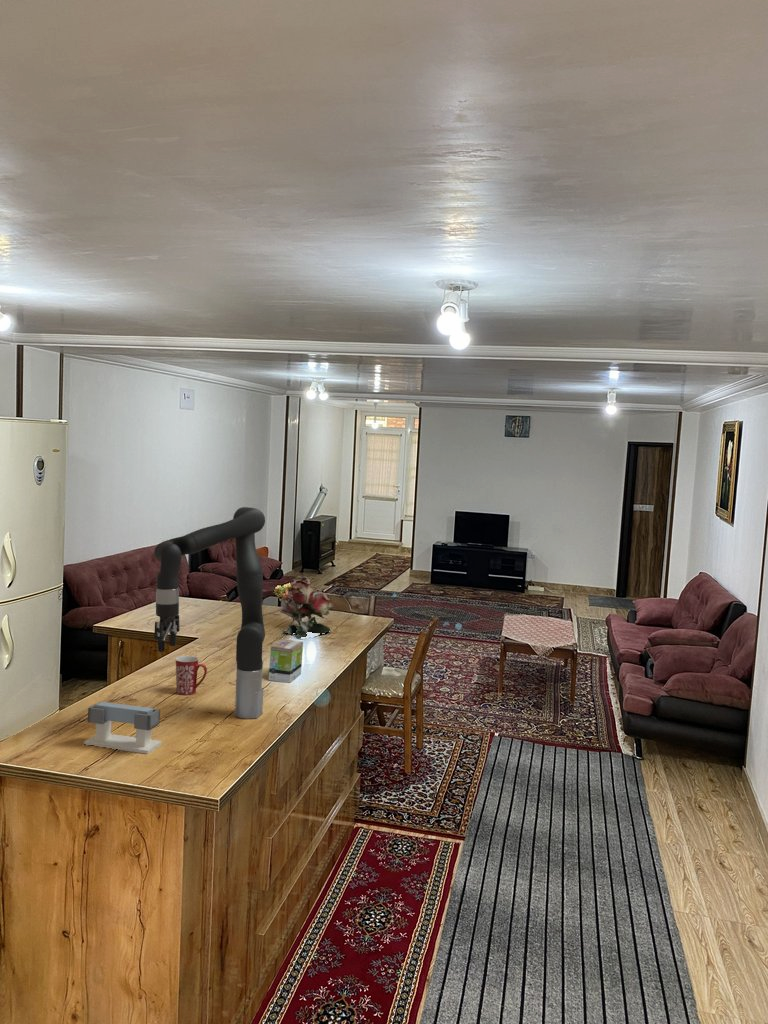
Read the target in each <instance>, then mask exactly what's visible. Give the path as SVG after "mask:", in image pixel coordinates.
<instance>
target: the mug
mask: <svg viewBox="0 0 768 1024" xmlns="http://www.w3.org/2000/svg"><path fill="white" fill-rule="evenodd" d="M174 661H175V676H176V677H175V680H176V682H175V683H176V684H175V685H176V694H177V695H182V696H190V695H194V694H196V692H197V688H198V687H199V686H200V685H201V684H202V683H203V681H204V680H205V678H206V676H207V672H208V667H207V665H206V664H204V663H199V657H197V656H195V655H182V656H181V655H180V656H177V657H176V658H175V659H174ZM201 667H202V668H203V671H204V672H203V673H204V674H203V676H202V678H201V679H200V680H199V682H198V683H197V680H198V670H199V668H201Z"/></svg>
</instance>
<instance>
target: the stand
mask: <svg viewBox="0 0 768 1024" xmlns="http://www.w3.org/2000/svg"><path fill="white" fill-rule="evenodd" d="M100 702H101V701H99V702H97V703H95V704H93V705H91V706H89V707H88V708H87V723H90V724H91V723H92V724H95V735H92V736H91V737H89V738H88V739H86V740H84V741H83V745H84V744H87V745H86V746H88V745H95V746H101V747H100V748H102V747H106V748H105V749H109V748H112V749H111V750H116V749H118V751H123V750H124V752H131V753H139V754H146V755H149V754H150V753H151V752H153V751H154V750H155V749H157V748H158V747H160V746H161V745H162V740H156V739H152V729H154V728H155V727H157V726H158V725H160V717H161V709H158V708H157V709H156V708H153V713H151V714H149V715H145V714H137V713H135V714H134V724H133V729H135V730H136V731H135V737H134V736H128V735H120V734H114V733H112V721H108V720H104V710H105V709H99V708H95V705H96V704H98V703H100ZM95 746H94V747H95Z"/></svg>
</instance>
